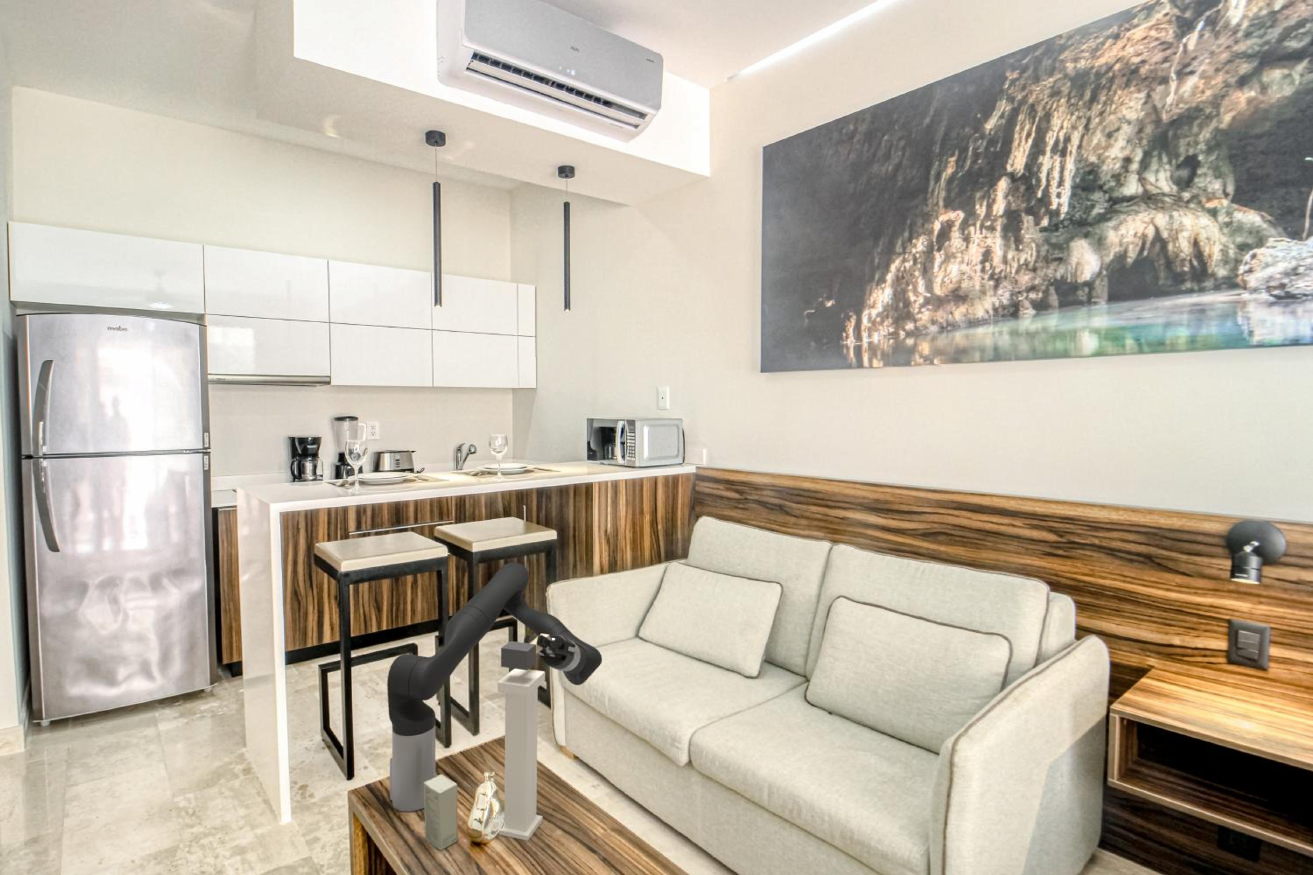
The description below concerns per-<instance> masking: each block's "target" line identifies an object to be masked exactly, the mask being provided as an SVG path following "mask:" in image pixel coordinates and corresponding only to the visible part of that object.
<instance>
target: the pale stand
mask: <svg viewBox="0 0 1313 875" xmlns="http://www.w3.org/2000/svg"><path fill="white" fill-rule="evenodd" d="M545 681H546V672H545V671H543V670H537V669H536V670H535V669H531V668H530V669H528V670H521V669H514V668H512V670H511V671H509V672H508V673H507V674H506V675H504V676H503V677H502V678H501V679H500V680H498V681H497V692H498V693H504V696H505V697H504V698H505V702H504V710H505V714H504V814H503V815H504V820H503V823H504V826H503V828H502V829H500V831H499V834H498V835H500V836H502V837H503V836H505V837H508V838H512V839H513V838H514V839H519V840H523V841H526V842H527V841H528V842H529V840H530V839H531V837H533V834H534V833H535V832H536V830H537V829H538V828H539V826H540V825H541V823H543V819H544V818H543V815H539V814H537V806H538V805H537V799H538V796H537V791H538V790H537V789H538V788H537V786H538V781H537V780H538V779H537V778H538V769H537V768H538V703H539V702H538V700H539V699H538V695H539V694H538V692H539V691H538V690H539V687H540V686H541V685H542V684H543V683H544V682H545Z"/></svg>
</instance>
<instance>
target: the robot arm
mask: <svg viewBox="0 0 1313 875" xmlns="http://www.w3.org/2000/svg"><path fill="white" fill-rule="evenodd" d="M529 581H530V574H529V571H528V569H527V567H525V565H523V564H521V563H519V562H509V563H506V564H503V565H501V567H500V568H499V569H498V570H497V571H496V573H495V574H494V575H493V577H492V578H491V579H490V580H489V581H488V583H486V585H485V586H484V587H483V588H482V589H481V590H479V591H478V592H477V593H476V594H475V595H474V596H473V597H472V598H471V599H470V600H468V601H467V602H466V603H465V604H464V605H463V606H462V607H461V608H460V609H459V610H457V611H456V613H454V614H453V615H452V616H451V617H450V619H449V620H448V622H447V623H446V626H445V632H444V644H443V646H442V647H441V649H439V651H437V652H436V653H434V655H431V656H424V655H418V654H417V655H416V654H412V653H411V654H410V653H409V654H408V653H405V654H404V653H403V654H401V655H398V656H397V657H396V658H394V660H393V662H392V663H391V665H390V667H389V670H388V675H387V683H386V684H387V685H386V686H387V688H386V690H387V692H386V693H387V704H388V705H387V706H388V716H389V717H388V718H389V720H390V722H391V726H392V727H391V730H392V731H391V736H392V739H391V743H392V745H391V746H392V748H391V749H392V751H391V752H392V754H391V755H392V757H391V758H390V760H389V800H390V801H391V803H392V806H393V808H394V809H395V810H397V811H401V812H415V811H420V810H421V809H424V782H426V781H428V780H430V779H432V778H434V777H436V712H435V710H434V709H433V708H432V707H431V706H430V705H428V704H427V703H426V702H425V701H428V700H430V699H432V698H434V697H435V696H436V695H437V694H438V692H440V690H441V689H442V688H443V687H444V686H445V684H446V682H447V681H448V680H449V678H450V677H451V675H452V674H453V672H455V670H456V668H458V666H459V665H460V663H462V661H463V660H464V659H465V657H466V656H468V654H469V653H470V652H471V650H472V649H473V648H474V647H476V645H477V644H478V643H479V642H480V641H481V640H482V639H483V638H484V637H485V636H486V635H487V634H488V633H489V631H490V630H491V629H492V627H493V626H494V624H495V622H496V621H497V619H498V618H499V616H500V614H501V612H502V611H503V610H505V611H506V612H507V613H508V614H510V615H511V616H512V617H513V618H515V619H516V620H518V621H519V622H520V623H521V624H523V625H524V626H525V627H527V628H528V629H529V630H530V631H531V632H533V633H534V634H535V635H534V634H533V633H527V635H525V637H524V638H523V642H522V643H530V642H532V641H533V640H534V639H535V638H537V637H538V639H537V645H538V646H540V647H542V648H543V649H542V650H541V651H539V652H538V653H537V654H538V655H539V656H540V659H541V661H542V663H543V664H545V665H546V666H548V667H550V668H552V669H554V670H557V671H561V672H562V673H563V674H564V677H565V679H567V681H568V682H570V683H571V684H572V685H574V686H581V685H582V684H583V685H584V683H585V682H587V680H588V679H589V678H590V677H591V676H592V675H593V673H595V671H597V669H598V668H599V667H600V666H601V664H602V662H603V657H602V654H601V652H600V650H598V648H596V647H594V646H592V645H590V644H589V643H587V642H585V641H583V640H581V639H580V638H579V637H577V636H576V635H574V633H572V632H571V630H569V628H568V627H567V626H566V625H565V624H564V623H563V622H562V621H561V620H560V619H559V618H558V617H556V616H554V615H553V614H550V613H548V612H544V611H540V610H537V609H535V608H533V607H531V606H530V605H529V604H528V602H527V601H526V600H525V599H524V594H525V591H526V589H527V587H528V585H529ZM540 634H548V635H549V637H548V638H546V637H545V636H543V635H540Z"/></svg>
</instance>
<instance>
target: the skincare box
mask: <svg viewBox="0 0 1313 875" xmlns="http://www.w3.org/2000/svg"><path fill="white" fill-rule="evenodd" d="M423 809H424V831H425V832H424V839H425V840H426V841H428V842H429V843H430V844H431V845H433V846H434V847H435V848H437V849H438V850H440V851H442V850H444V849H446V848H448V847H450V846H452V845H453V844H455V843H456V842H458V841H459V822H458V821H459V820H458V818H459V817H458V816H459V815H458V813H459V812H458V810H459V809H458V783H457V782H454V781H453V780H452V779H450V778H449V777H447V776H445V775H443V774H442V773H441V774H439V775H435V777H434V778H432V779H430V780H428V781H426V782H424V808H423Z"/></svg>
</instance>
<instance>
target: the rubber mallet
mask: <svg viewBox="0 0 1313 875" xmlns="http://www.w3.org/2000/svg"><path fill="white" fill-rule="evenodd" d="M540 635H543V636H545V637H546V638H548V637H549V635H548V634H540ZM537 639H538V637H537V638H535V639H534V640H533V641H532V642H530V643H523V642H520V641H513V640H512V641H511V640H510V641H509V642H507V643H505V645H503V646H502V647H501V648H500V667H501V668H507V669H508V668H509V669H521V670H528V669H530V670H531V668H532V667H533V666H534V665H536V663H537V654H539V653H538V652H539V651H541V650H542V649H543V648H542V647H540V646H538V645H537Z"/></svg>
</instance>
